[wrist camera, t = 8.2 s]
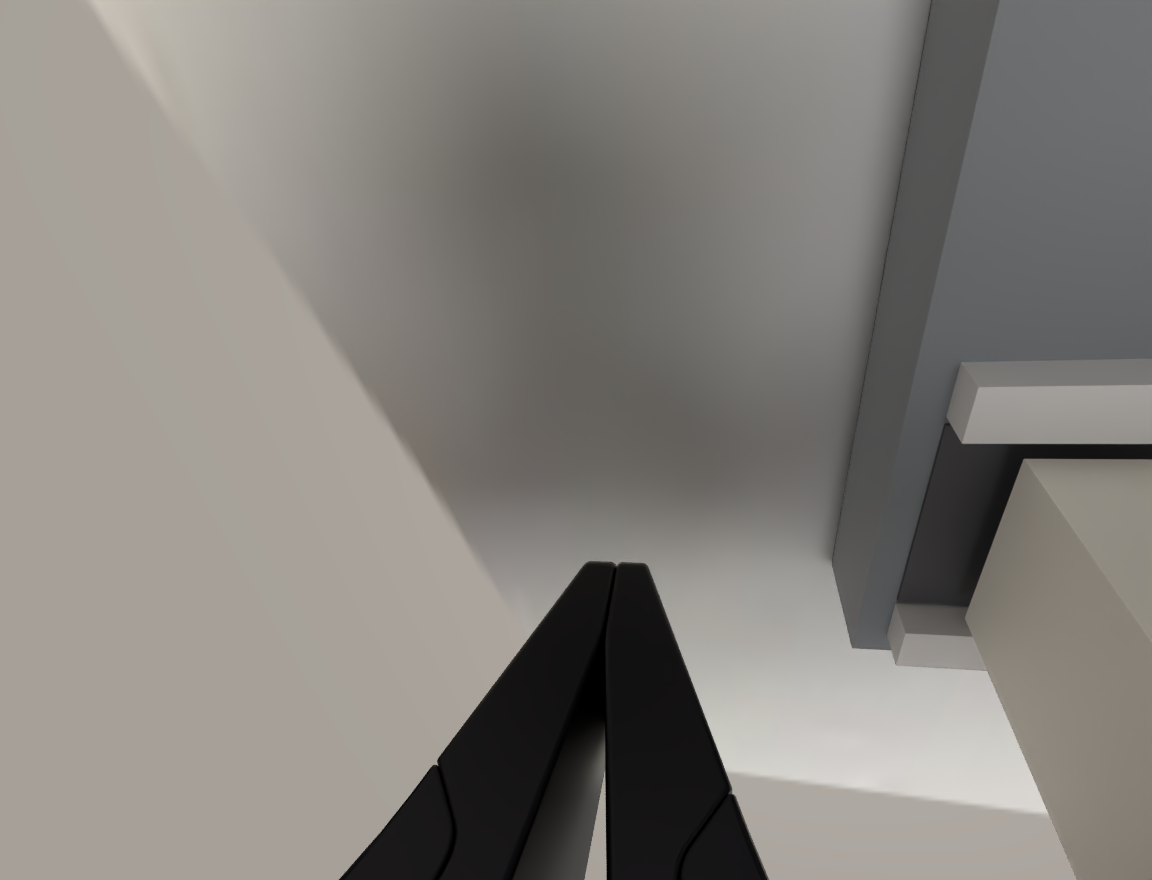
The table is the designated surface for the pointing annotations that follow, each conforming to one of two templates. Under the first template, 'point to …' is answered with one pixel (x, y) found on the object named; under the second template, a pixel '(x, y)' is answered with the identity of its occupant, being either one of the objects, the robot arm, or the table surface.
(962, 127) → the console board
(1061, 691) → the fader tab
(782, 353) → the table surface
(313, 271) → the table surface
